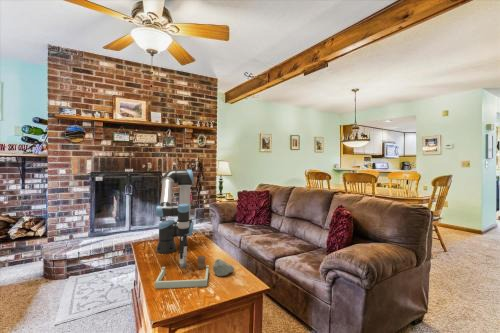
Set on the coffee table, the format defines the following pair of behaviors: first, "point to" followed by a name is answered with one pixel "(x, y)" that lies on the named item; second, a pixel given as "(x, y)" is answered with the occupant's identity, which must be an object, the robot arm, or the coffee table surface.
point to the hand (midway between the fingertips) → (183, 259)
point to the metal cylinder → (183, 263)
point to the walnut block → (201, 262)
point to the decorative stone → (222, 268)
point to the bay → (180, 281)
